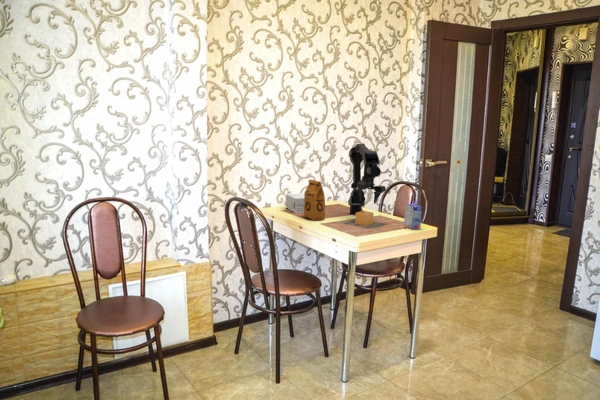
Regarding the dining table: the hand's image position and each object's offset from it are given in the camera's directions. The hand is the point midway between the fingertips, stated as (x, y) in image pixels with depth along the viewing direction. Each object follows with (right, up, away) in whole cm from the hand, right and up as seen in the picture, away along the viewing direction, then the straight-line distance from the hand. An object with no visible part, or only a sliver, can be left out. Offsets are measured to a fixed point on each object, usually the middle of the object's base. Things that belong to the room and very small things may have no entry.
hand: (367, 202), depth 244 cm
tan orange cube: (-2, -11, -4) cm, 12 cm away
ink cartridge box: (+23, -14, -5) cm, 27 cm away
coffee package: (-29, -9, +11) cm, 32 cm away
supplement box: (-37, -5, +34) cm, 50 cm away
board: (-2, -12, -4) cm, 13 cm away
